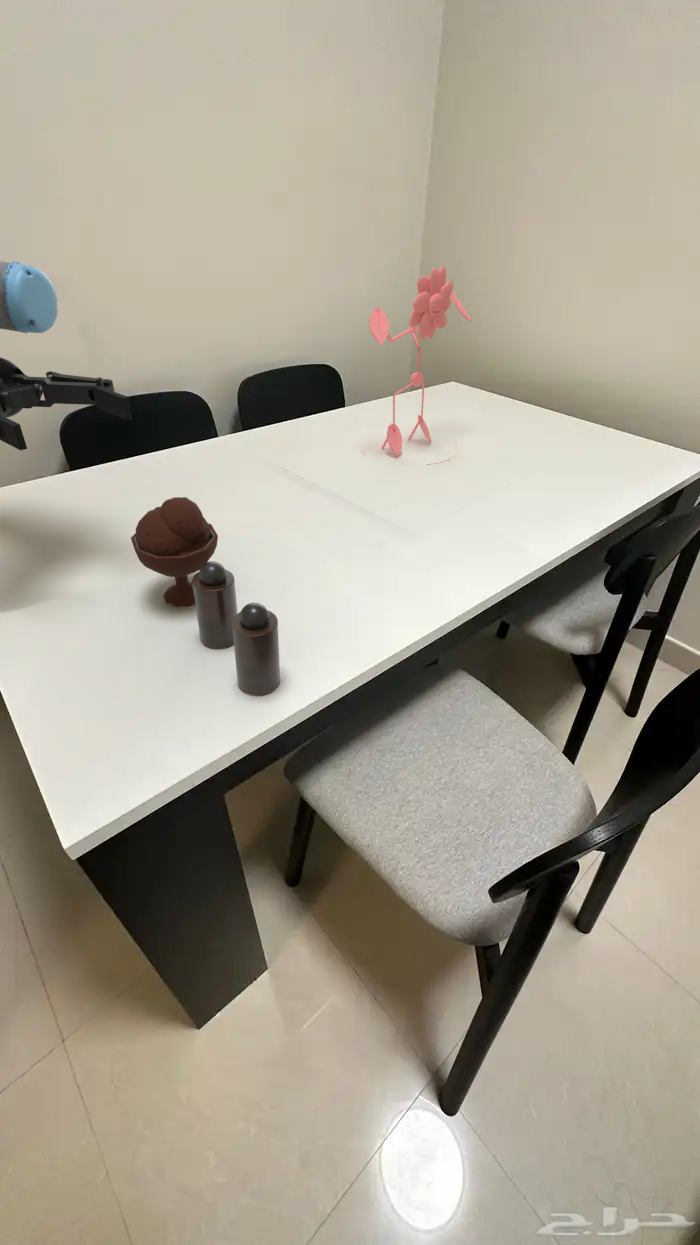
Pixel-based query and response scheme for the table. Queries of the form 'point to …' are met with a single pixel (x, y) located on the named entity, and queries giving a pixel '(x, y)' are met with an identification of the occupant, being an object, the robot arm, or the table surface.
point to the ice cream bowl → (175, 545)
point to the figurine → (428, 316)
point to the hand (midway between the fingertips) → (77, 422)
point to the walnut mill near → (256, 649)
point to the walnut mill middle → (215, 604)
